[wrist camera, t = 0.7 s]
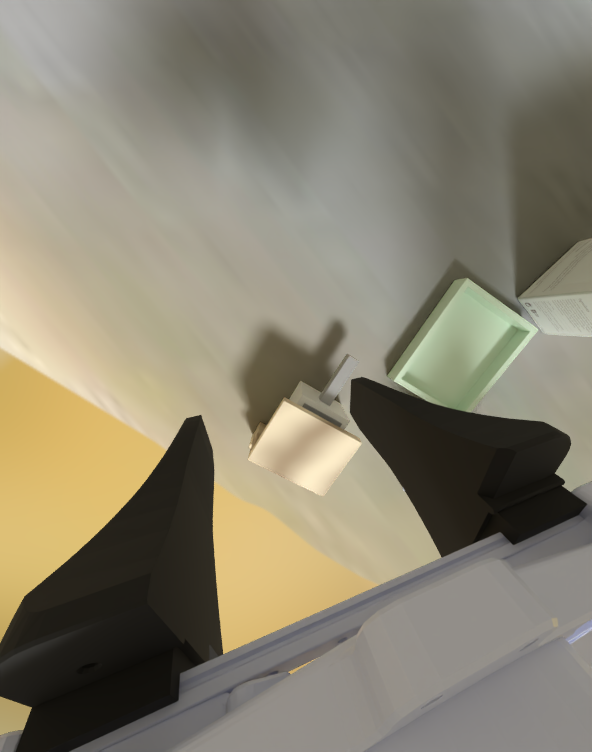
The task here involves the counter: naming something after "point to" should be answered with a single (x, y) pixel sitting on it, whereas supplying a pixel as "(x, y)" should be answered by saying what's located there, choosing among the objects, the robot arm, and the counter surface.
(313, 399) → the white block with post
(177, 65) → the counter surface
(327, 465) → the beige block
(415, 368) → the tray
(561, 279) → the skincare box
